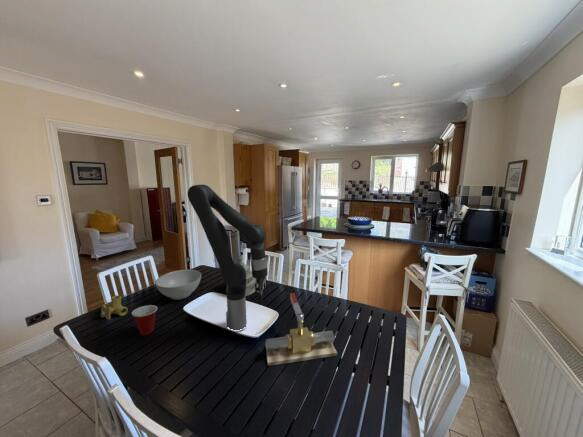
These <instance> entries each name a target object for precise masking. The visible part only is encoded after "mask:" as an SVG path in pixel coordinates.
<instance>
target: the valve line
mask: <svg viewBox="0 0 583 437" xmlns="http://www.w3.org/2000/svg"><path fill="white" fill-rule="evenodd" d="M303 323H304V322H303ZM303 323H298V322H297V328H291V329H290V328H289V333H287V334H285V336H280V337H273V338H266V339H265V350H266V349H267V351H268V350H276V349H283V348H287V350H291V349H292V353H293V354H300V353H306V352H311V347H312V346H315V344H319V343H326V342H332V343H333V342H334V341H335V336H334V332H333V330H327V331H319V332H314V331H312V330H311V331H309V328H308V327H304V325H303Z"/></svg>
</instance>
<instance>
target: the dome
mask: <svg viewBox="0 0 583 437" xmlns="http://www.w3.org/2000/svg"><path fill="white" fill-rule="evenodd" d="M237 264H241V265H242V266H243V267H244V268H245V271H246V291H245V297H248V296H251V295H252V294H254V293H255V283H256V280H257V279H256V278H254V277H253V276H252V270H251V268H250V267H249V265H247V264H245V262H243V257H242V256H241V255H240V254H239V256H238V257H237ZM227 289H228V286H227V285H226V289H225V293H227Z"/></svg>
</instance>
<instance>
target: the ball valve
mask: <svg viewBox="0 0 583 437" xmlns="http://www.w3.org/2000/svg"><path fill="white" fill-rule="evenodd" d="M110 300H111V301H110V302H109V301H108V302H107V303H106V304H101V310H100V317H101V318H104V317H105V318H106V320H111V315H112V314H113V315H118V316H120V317H121V316H125V315H126V314H127V313H128V311H129V309H128V307H127V306H123V304H122V296H121V295H119V294H118V295H114V296H112V297H111V298H110Z"/></svg>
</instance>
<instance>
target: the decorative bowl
mask: <svg viewBox="0 0 583 437" xmlns="http://www.w3.org/2000/svg"><path fill="white" fill-rule="evenodd" d="M201 279H202V273H201V271H199V270H196V269H180V270H174V271H170V272H168V273H165V274H162V275H160V276H159V277H158V278H157V279H156V280H155V282H154V283H155V287H156V289H157V290H158V291H159V292H160V293H161V294H162V295H164V296H165V297H167V298H170V299H172V300H173V301H174V300H175V301H176V300H177V301H179V300H183V299H186V298H188V297H190V296H191V294H192V293H193V292H194V291H195V290H196V289H197V288H198V286H199V285H200V282H201Z"/></svg>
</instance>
